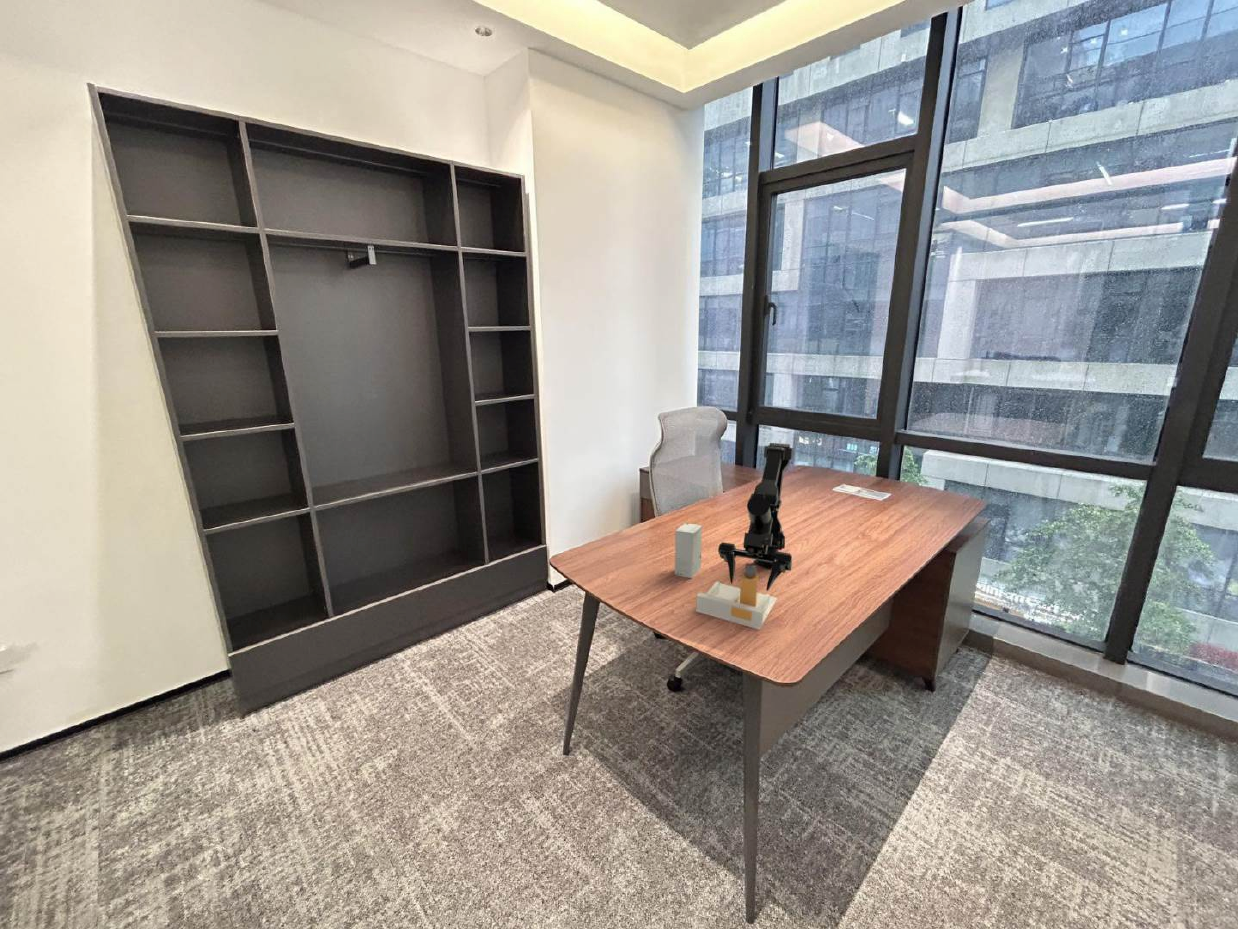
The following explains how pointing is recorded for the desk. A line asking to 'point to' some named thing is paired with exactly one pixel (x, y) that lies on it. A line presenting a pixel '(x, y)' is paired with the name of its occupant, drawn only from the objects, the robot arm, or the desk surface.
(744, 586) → the orange plug
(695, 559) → the skincare box
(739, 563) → the desk surface
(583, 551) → the desk surface
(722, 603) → the white ribbed tray
